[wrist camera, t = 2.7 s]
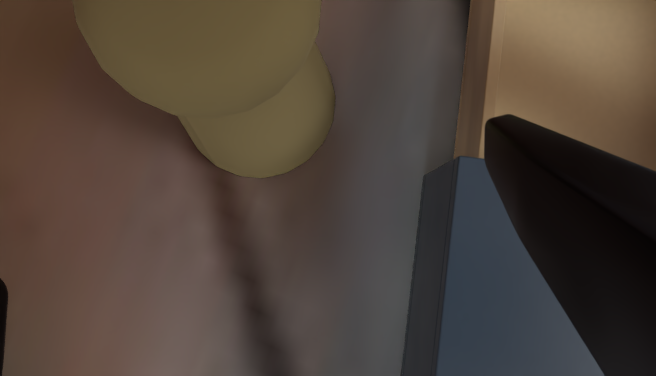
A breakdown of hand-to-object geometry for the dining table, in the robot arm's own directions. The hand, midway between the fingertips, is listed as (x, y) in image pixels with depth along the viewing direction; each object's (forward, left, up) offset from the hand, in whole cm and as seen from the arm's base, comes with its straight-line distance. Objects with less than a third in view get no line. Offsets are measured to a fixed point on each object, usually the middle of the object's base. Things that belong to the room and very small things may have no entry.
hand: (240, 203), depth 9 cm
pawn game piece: (+4, -2, -11) cm, 12 cm away
